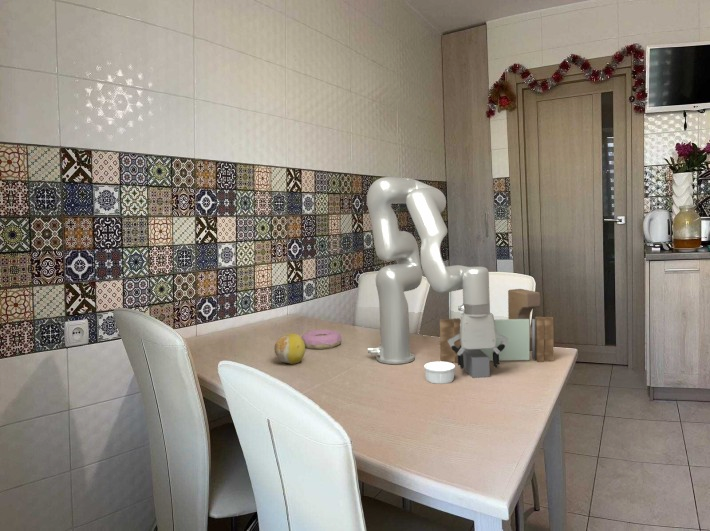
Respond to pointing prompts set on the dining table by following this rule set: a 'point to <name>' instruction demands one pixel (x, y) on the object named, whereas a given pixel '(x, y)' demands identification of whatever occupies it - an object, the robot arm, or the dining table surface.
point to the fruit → (290, 348)
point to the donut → (321, 339)
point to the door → (514, 339)
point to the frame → (541, 339)
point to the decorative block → (522, 306)
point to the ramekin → (439, 372)
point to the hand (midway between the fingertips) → (478, 367)
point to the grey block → (476, 363)
